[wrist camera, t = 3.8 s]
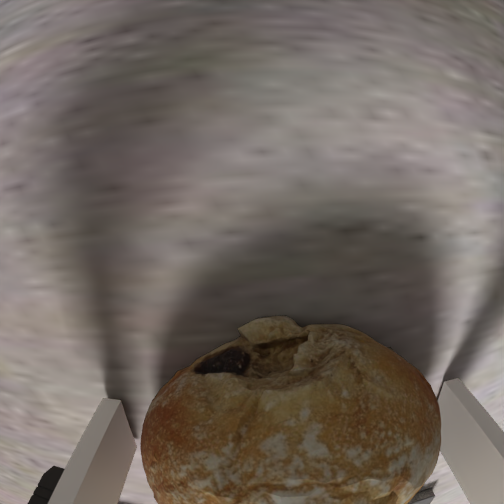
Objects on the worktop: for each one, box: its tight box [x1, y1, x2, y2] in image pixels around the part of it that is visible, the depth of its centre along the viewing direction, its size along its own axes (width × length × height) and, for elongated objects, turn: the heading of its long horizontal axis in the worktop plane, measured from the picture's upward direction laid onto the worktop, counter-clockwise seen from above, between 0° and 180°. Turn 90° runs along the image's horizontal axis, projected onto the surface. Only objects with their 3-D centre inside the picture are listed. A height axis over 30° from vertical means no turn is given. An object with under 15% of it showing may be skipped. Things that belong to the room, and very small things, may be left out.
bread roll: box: [141, 315, 441, 504], centre depth 9 cm, size 10×10×8 cm
